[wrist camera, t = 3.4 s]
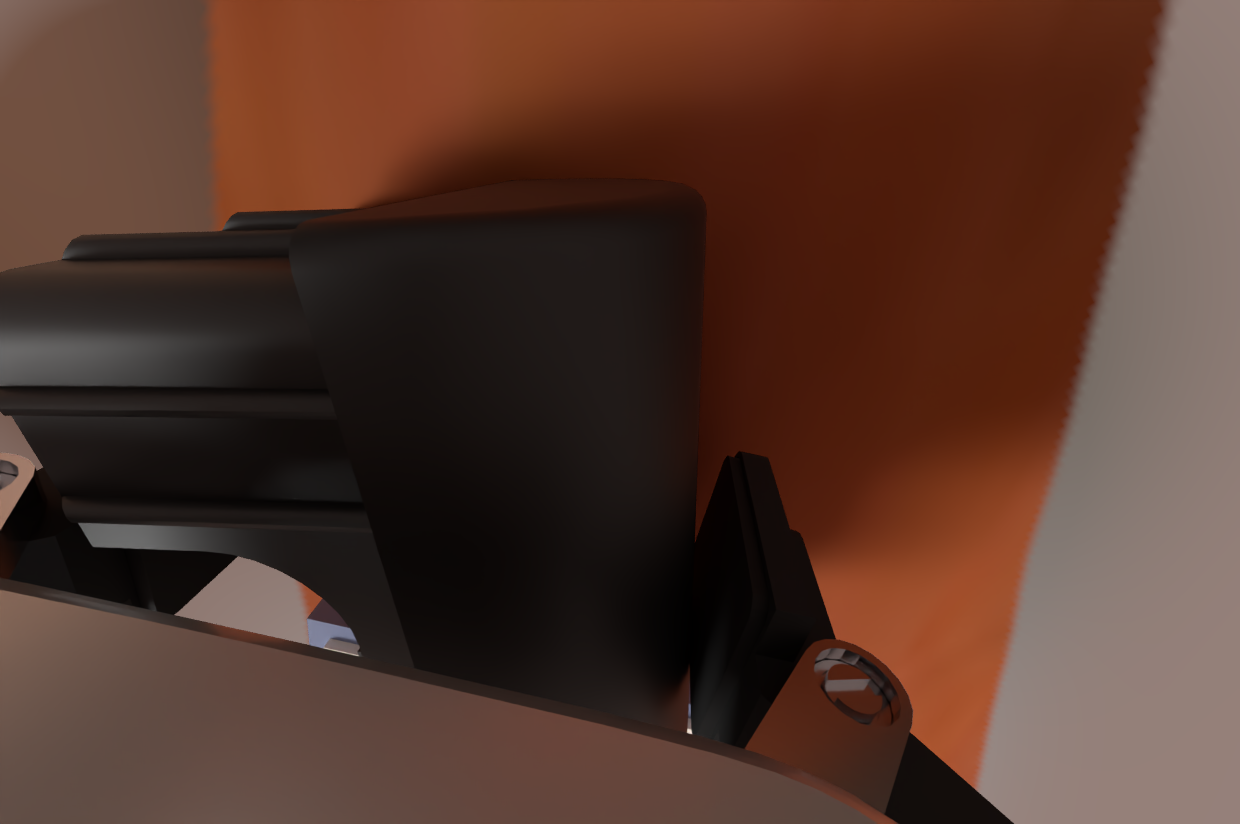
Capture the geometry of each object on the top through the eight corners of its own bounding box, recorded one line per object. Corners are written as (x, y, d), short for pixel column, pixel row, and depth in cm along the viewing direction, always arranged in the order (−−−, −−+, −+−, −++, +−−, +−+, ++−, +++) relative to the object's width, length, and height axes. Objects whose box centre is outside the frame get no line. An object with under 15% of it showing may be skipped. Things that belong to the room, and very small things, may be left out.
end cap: (684, 590, 14) (692, 934, 8) (425, 579, 14) (247, 887, 8) (696, 171, 9) (735, 214, 3) (319, 184, 10) (-218, 239, 4)
